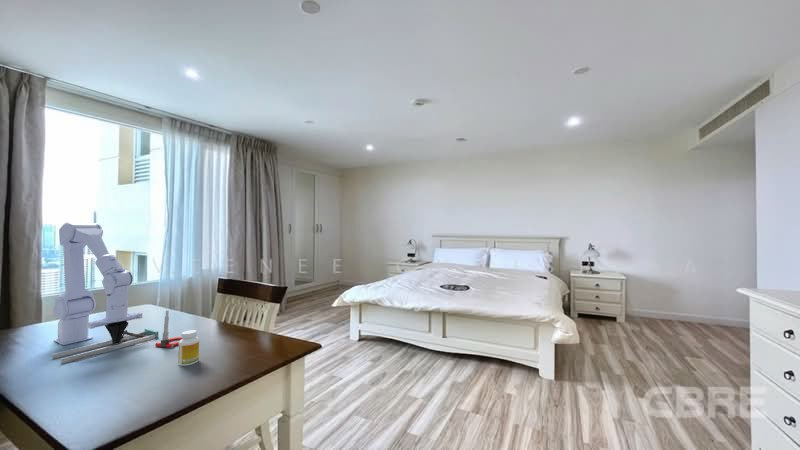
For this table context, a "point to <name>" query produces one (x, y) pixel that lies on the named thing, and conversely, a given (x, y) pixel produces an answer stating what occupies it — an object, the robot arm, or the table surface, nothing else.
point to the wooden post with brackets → (131, 335)
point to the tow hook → (165, 340)
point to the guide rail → (150, 336)
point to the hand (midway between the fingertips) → (116, 343)
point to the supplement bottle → (188, 348)
